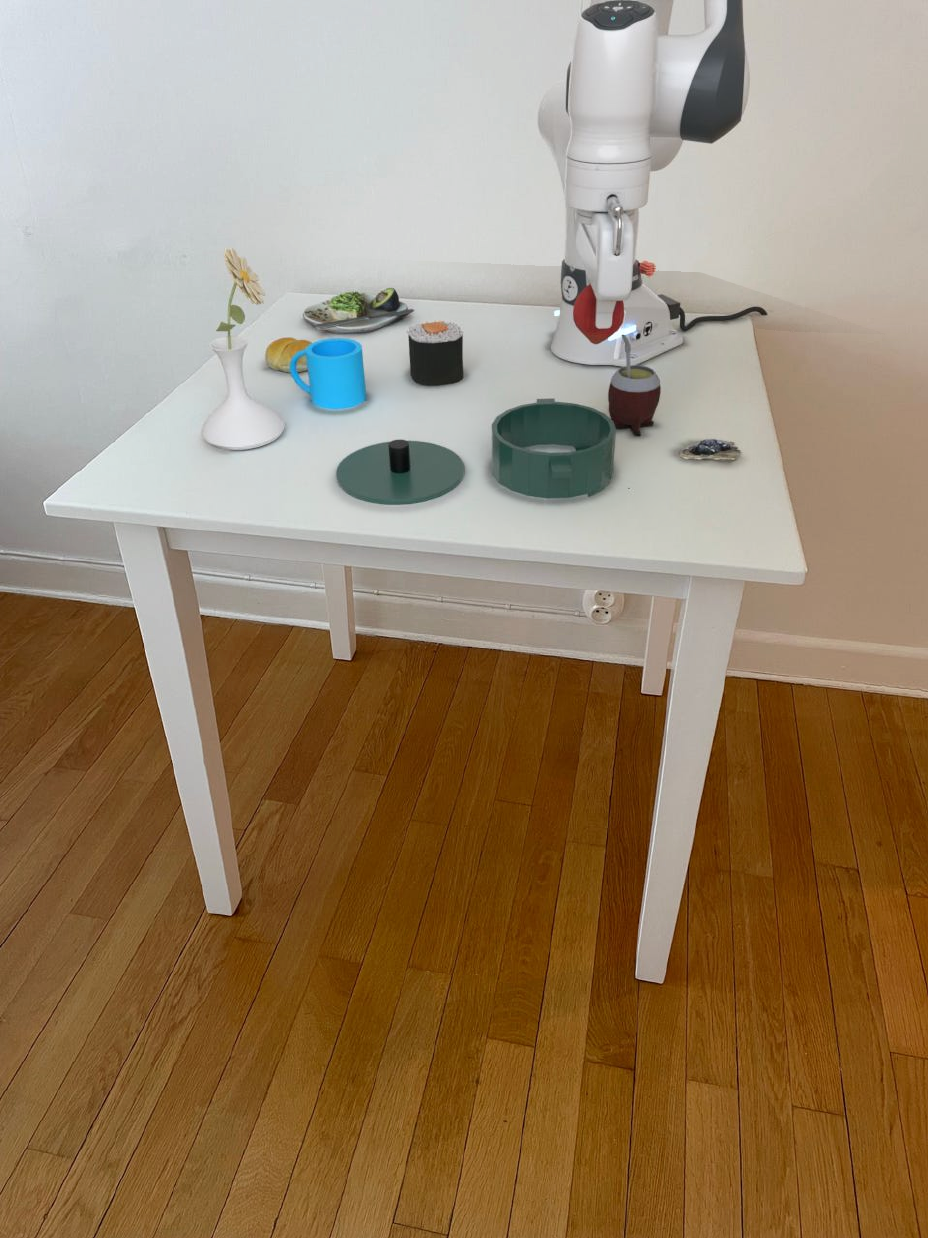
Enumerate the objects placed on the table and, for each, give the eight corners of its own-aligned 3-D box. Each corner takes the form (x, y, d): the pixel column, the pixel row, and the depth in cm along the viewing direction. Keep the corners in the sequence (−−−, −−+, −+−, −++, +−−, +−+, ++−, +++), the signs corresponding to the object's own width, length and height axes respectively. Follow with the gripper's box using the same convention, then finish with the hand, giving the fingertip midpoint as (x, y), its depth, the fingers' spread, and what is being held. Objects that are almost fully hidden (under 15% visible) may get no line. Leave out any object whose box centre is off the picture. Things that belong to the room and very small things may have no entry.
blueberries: (746, 464, 123) (748, 451, 122) (685, 467, 123) (687, 454, 122) (730, 441, 129) (732, 428, 128) (672, 444, 128) (673, 431, 127)
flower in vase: (260, 463, 126) (229, 271, 112) (187, 451, 130) (147, 263, 115) (306, 423, 136) (283, 242, 121) (237, 413, 140) (206, 235, 125)
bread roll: (288, 350, 159) (285, 327, 157) (330, 360, 155) (327, 336, 153) (254, 367, 154) (250, 342, 151) (296, 377, 150) (293, 353, 147)
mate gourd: (647, 414, 136) (657, 309, 127) (665, 437, 130) (678, 329, 121) (596, 418, 135) (603, 314, 127) (613, 442, 129) (621, 334, 120)
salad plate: (351, 347, 160) (348, 320, 157) (278, 326, 169) (275, 300, 166) (425, 316, 172) (424, 290, 169) (354, 297, 181) (352, 273, 178)
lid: (462, 446, 129) (462, 414, 126) (466, 506, 116) (465, 472, 113) (342, 450, 129) (338, 418, 126) (331, 510, 116) (327, 476, 113)
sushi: (404, 370, 151) (401, 320, 147) (454, 363, 153) (452, 314, 149) (417, 389, 145) (415, 338, 140) (469, 381, 147) (468, 331, 142)
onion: (621, 335, 113) (626, 266, 108) (622, 353, 108) (628, 282, 103) (571, 334, 113) (575, 265, 108) (571, 352, 109) (574, 281, 104)
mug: (376, 394, 144) (371, 342, 139) (350, 416, 138) (344, 361, 133) (307, 383, 148) (301, 332, 143) (279, 404, 142) (271, 351, 137)
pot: (599, 435, 131) (603, 391, 127) (624, 511, 114) (628, 463, 111) (488, 438, 131) (488, 394, 127) (496, 515, 114) (496, 467, 110)
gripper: (653, 208, 92) (641, 347, 100) (622, 164, 108) (613, 286, 117) (588, 210, 92) (581, 349, 100) (567, 165, 108) (562, 288, 117)
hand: (598, 315), depth 109 cm, fingers closed on onion, 6 cm apart
